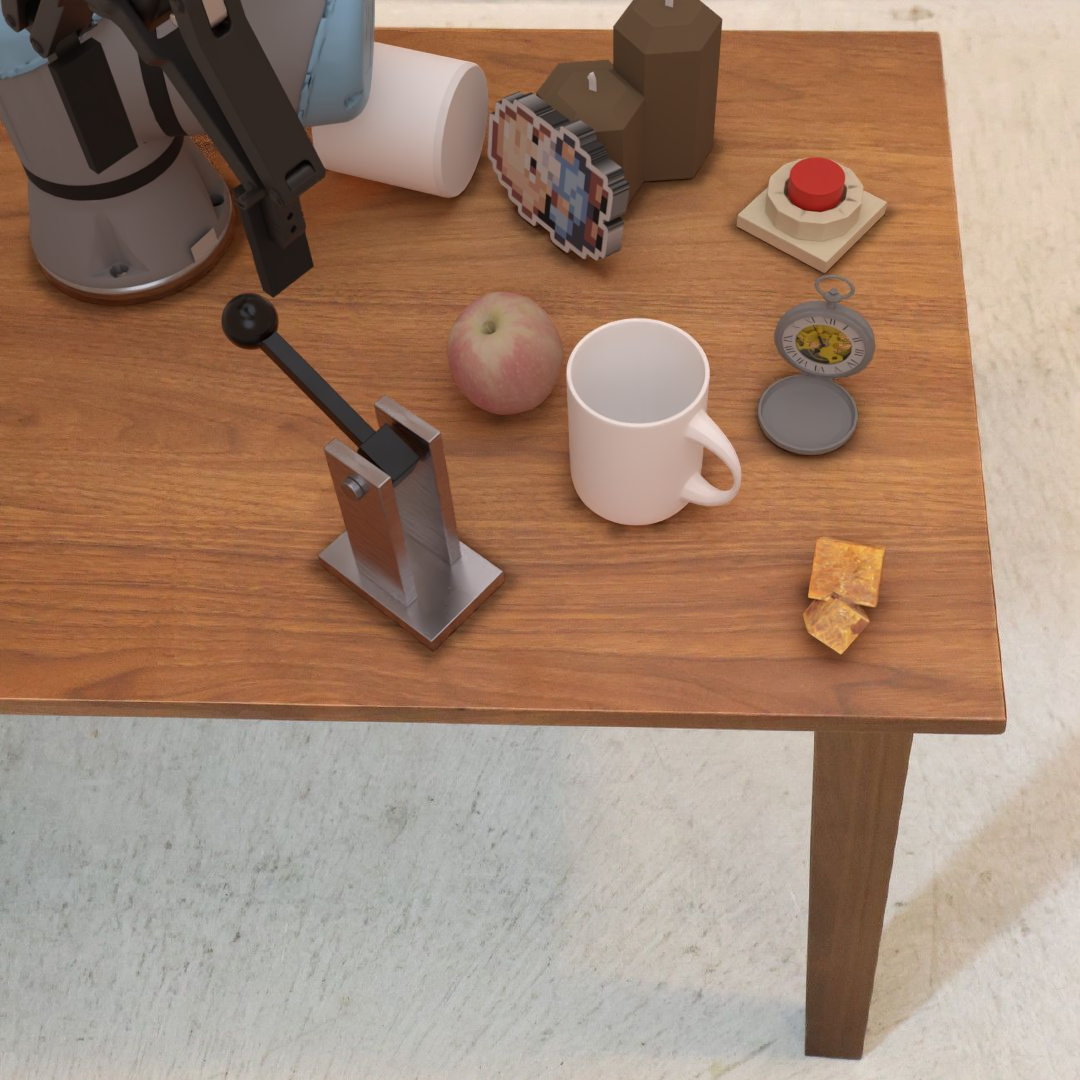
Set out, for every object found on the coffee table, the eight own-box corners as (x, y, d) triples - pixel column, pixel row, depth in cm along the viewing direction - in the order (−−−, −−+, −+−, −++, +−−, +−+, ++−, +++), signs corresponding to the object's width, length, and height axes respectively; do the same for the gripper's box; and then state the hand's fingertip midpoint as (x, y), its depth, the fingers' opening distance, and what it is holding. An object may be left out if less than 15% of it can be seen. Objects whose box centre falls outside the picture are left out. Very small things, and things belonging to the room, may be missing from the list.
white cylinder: (448, 72, 98) (316, 44, 100) (433, 211, 103) (307, 182, 105) (507, 51, 109) (386, 26, 111) (491, 178, 114) (375, 151, 116)
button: (776, 196, 103) (778, 178, 101) (807, 167, 104) (810, 149, 103) (821, 220, 101) (824, 202, 100) (852, 190, 103) (856, 172, 101)
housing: (735, 226, 105) (738, 196, 103) (797, 169, 108) (801, 138, 106) (824, 274, 102) (829, 243, 99) (885, 213, 105) (891, 183, 103)
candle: (702, 90, 114) (713, -81, 101) (723, 205, 106) (738, 36, 94) (536, 101, 114) (526, -68, 101) (544, 218, 106) (535, 51, 94)
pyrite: (867, 651, 86) (801, 636, 87) (889, 545, 85) (822, 532, 86) (864, 661, 81) (793, 646, 82) (887, 549, 80) (815, 535, 81)
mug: (695, 579, 88) (705, 477, 79) (544, 489, 92) (537, 383, 83) (769, 489, 91) (786, 382, 82) (620, 406, 96) (621, 297, 87)
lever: (207, 329, 80) (211, 305, 77) (248, 297, 81) (253, 272, 78) (379, 503, 80) (389, 485, 77) (417, 468, 81) (429, 449, 78)
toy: (617, 274, 103) (633, 159, 95) (602, 282, 102) (617, 166, 94) (501, 180, 109) (507, 65, 101) (486, 187, 108) (491, 71, 101)
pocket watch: (777, 470, 92) (793, 370, 84) (734, 377, 97) (745, 273, 88) (893, 440, 93) (920, 339, 85) (844, 350, 98) (866, 245, 89)
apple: (472, 343, 100) (462, 262, 93) (576, 360, 98) (573, 279, 92) (439, 428, 95) (427, 349, 89) (547, 447, 94) (543, 369, 87)
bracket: (320, 565, 90) (277, 431, 78) (392, 500, 92) (360, 361, 81) (433, 651, 86) (405, 524, 74) (504, 581, 88) (488, 447, 77)
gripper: (358, -128, 49) (425, 289, 67) (-50, -336, 59) (103, 76, 77) (197, -25, 46) (311, 382, 64) (-204, -262, 56) (-8, 149, 74)
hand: (198, 216), depth 71 cm, fingers open, 13 cm apart
